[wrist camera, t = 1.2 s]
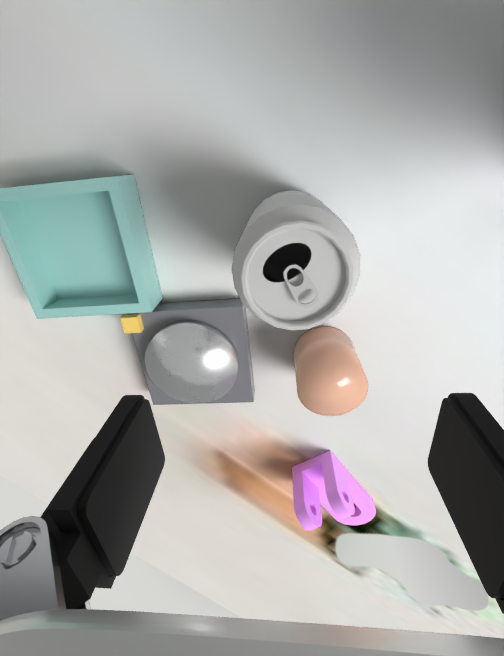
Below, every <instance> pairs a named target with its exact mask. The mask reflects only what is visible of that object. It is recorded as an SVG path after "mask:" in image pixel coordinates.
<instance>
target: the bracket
mask: <svg viewBox="0 0 504 656" xmlns="http://www.w3.org/2000/svg"><path fill="white" fill-rule="evenodd" d="M292 475H293V496H294V509H295V513H296V516H297V518H298V520H299V522H300V524H301V526H302V527H303V528H304V529H305V530H307V531H309V530H312V529H315V528H318V527H320V526H321V525H322V514H321V506H320V504H321V505H322V506H323V507H324V508H325V509H326V510H327V511H328V512H329V513H330V514H331V515H332V516H333V517H334V518H335V519H336V520H337V521H338V522H340V523H343V524H346V525H361V524H364V523H367V522H369V521H370V520H372V519H373V518H374V516H375V514H376V509H375V505H374V502H373V499H372V497H371V496H370V495H369V494H368V493H367V491H366V490H365V489H364V488H363V487H362V486H361V485H360V483H359V482H358V481H357V480H356V479H355V478H354V477H353V476H352V474H351V473H350V472H349V471H348V470H347V469H346V468H345V466H344V465H343V464H342V463H341V462H340V461H339V460H338V458H337V457H336V456H335V455H334V454H333V453H332V452H331V450H329V451H327V452H325V453H323V454H320V455H318V456H316V457H314V458H311V459H309V460H307V461H305V462H303V463H300V464H298V465H296V466H294V467H292ZM354 504H355V505H356V506H357V507H354Z"/></svg>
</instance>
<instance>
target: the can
mask: <svg viewBox="0 0 504 656" xmlns="http://www.w3.org/2000/svg"><path fill="white" fill-rule="evenodd" d="M232 274H233V280H234V286H235V289H236V291H237V293H238V295H239V297H240V299H241V301H242V303H243V304H244V305H245V306H246V307H247V308H248V309H249V310H250V311H251V312H252V313H253V314H254V315H255V316H256V317H257V318H259V319H261V320H263V321H264V322H266V323H268V324H270V325H272V326H274V327H276V328H282V329H287V330H304V329H310V328H313V327H315V326H318V325H321V324H323V323H325V322H327V321H328V320H329V319H331V318H332V317H333V316H335V315H336V314H337V313H339V311H340V310H341V309H342V308H343V307H344V305H345V304H346V303H347V301H348V300H349V299H350V297H351V296H352V295H353V293H354V290H355V288H356V285H357V282H358V279H359V276H360V253H359V250H358V247H357V244H356V241H355V238H354V235H353V234H352V233H351V232H350V230H349V229H348V228H347V227H346V225H345V224H344V223H343V222H342V220H341V219H340V218H339V217H338V216H336V215H335V214H334V213H333V212H332V211H331V210H330V209H329V208H328V207H327V206H325V205H324V204H323V203H322V202H321V201H320V200H318V199H316V198H315V197H313V196H312V195H310V194H308V193H305V192H300V191H295V190H291V191H284V192H278V193H276V194H274V195H272V196H270V197H268V198H266V199H264V200H263V201H262V202H261V203H260V204H259V205H258V206H257V207H256V208H255V209H254V211H253V213H252V215H251V217H250V219H249V221H248V223H247V225H246V227H245V229H244V231H243V234H242V236H241V238H240V240H239V242H238V244H237V246H236V248H235V251H234V258H233V264H232Z"/></svg>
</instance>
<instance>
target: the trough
mask: <svg viewBox="0 0 504 656" xmlns="http://www.w3.org/2000/svg"><path fill="white" fill-rule="evenodd" d="M0 235H1V237H2V239H3V242H4V244H5V246H6V248H7V251H8V253H9V255H10V258H11V260H12V262H13V264H14V267H15V269H16V271H17V274H18V276H19V278H20V281H21V283H22V285H23V287H24V290H25V292H26V294H27V297H28V299H29V301H30V303H31V306H32V308H33V310H34V313H35V315H36V317H37V319H41V318H58V317H75V316H92V315H109V314H126V313H143V312H152V311H153V310H154V308H155V307H156V306H157V305H158V304H159V302H160V301H161V300H162V299H163V297H162V293H161V289H160V285H159V280H158V276H157V272H156V267H155V263H154V259H153V255H152V250H151V246H150V242H149V237H148V233H147V229H146V225H145V220H144V216H143V212H142V208H141V203H140V199H139V195H138V190H137V186H136V182H135V178H134V174H133V175H123V176H112V177H103V178H93V179H84V180H74V181H65V182H55V183H46V184H36V185H27V186H17V187H8V188H0Z"/></svg>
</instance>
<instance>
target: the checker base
mask: <svg viewBox="0 0 504 656" xmlns="http://www.w3.org/2000/svg"><path fill="white" fill-rule="evenodd" d="M120 320H121V323H122V326H123V330H124V333H132V334H133V337H134V341H135V344H136V348H137V351H138V354H139V358H140V361H141V364H142V368H143V371H144V375H145V378H146V381H147V385H148V388H149V392H150V395H151V398H152V402H153V405H165V404H196V403H186V402H182V401H179V400H176V399H174V398H172V397H170V396H168V395H166V394H165V393H164V392H162V391H161V390H160V389H159V388H158V387H157V386H156V385H155V384H154V383H153V382H152V380H151V379H150V377H149V375H148V373H147V370H146V366H145V353H146V349H147V347H148V345H149V343H150V341H151V340H152V339H153V337H154V336H155V334H156V333H157V332H158V331H159V330H160V329H161V328H163V327H164V326H166V325H167V324H170V323H172V322H175V321H179V320H197V321H202V322H205V323H208V324H210V325H212V326H214V327H216V328H218V329H219V330H221V331H222V332H223V333H224V334H225V335H226V336H227V337H228V338H229V339H230V340H231V342H232V343H233V345H234V347H235V349H236V351H237V355H238V362H239V364H238V371H237V376H236V380H235V382H234V385H233V386H232V388H231V389H230V390H229V391H228V392H227V393H226V394H225V395H224V396H222V397H221V398H219V399H217V400H215V401H211V402H207V403H236V402H254V391H255V389H254V380H253V371H252V362H251V353H250V344H249V335H248V326H247V317H246V308H245V305H244V304H243V303H242V301H241V299H224V300H208V301H191V302H175V303H159V304H158V305H157V306H156V307H155V308H154V310H153V311H152V312H143V313H126V314H124V315H123V316H122V317H121V318H120Z"/></svg>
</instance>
